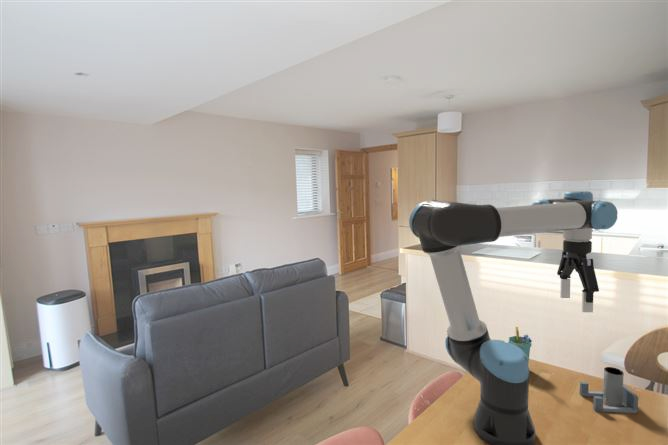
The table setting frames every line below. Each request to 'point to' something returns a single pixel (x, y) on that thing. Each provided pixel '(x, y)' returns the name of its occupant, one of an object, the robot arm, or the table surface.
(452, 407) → the table surface
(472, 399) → the table surface
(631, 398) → the endcap rail
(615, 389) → the grey tube
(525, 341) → the cup
